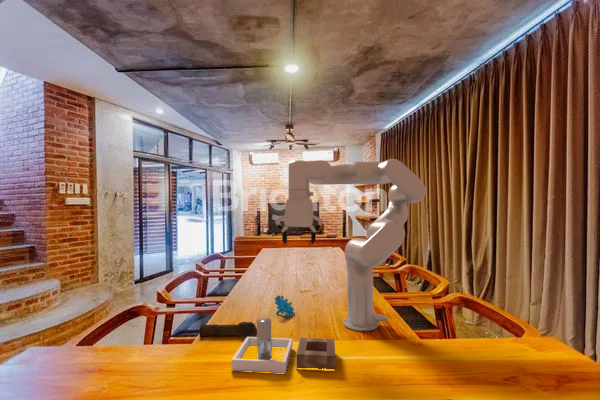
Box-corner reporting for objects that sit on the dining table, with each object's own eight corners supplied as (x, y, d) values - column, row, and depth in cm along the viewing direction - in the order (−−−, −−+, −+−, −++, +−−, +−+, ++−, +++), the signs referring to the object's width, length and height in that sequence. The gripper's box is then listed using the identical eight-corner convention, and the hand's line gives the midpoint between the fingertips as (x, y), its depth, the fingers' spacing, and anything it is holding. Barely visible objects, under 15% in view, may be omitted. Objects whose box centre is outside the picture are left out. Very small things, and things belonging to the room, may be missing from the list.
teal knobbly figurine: (286, 317, 106) (272, 295, 111) (276, 326, 108) (263, 304, 112) (300, 312, 116) (287, 292, 121) (290, 321, 117) (278, 301, 122)
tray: (292, 348, 84) (292, 338, 84) (285, 374, 70) (285, 362, 70) (247, 346, 85) (247, 336, 86) (231, 371, 72) (231, 359, 72)
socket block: (334, 353, 81) (334, 339, 82) (335, 372, 71) (335, 356, 72) (300, 351, 82) (300, 337, 83) (296, 370, 72) (296, 354, 73)
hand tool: (197, 338, 92) (198, 324, 92) (202, 333, 96) (203, 319, 96) (255, 340, 91) (255, 325, 91) (257, 335, 95) (257, 321, 95)
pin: (273, 354, 80) (272, 318, 80) (270, 361, 76) (269, 323, 76) (259, 353, 80) (259, 317, 81) (255, 360, 76) (254, 323, 77)
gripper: (323, 196, 103) (323, 242, 102) (277, 196, 105) (276, 242, 104) (322, 194, 96) (323, 244, 95) (273, 194, 97) (272, 244, 96)
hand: (298, 243), depth 99 cm, fingers open, 9 cm apart
